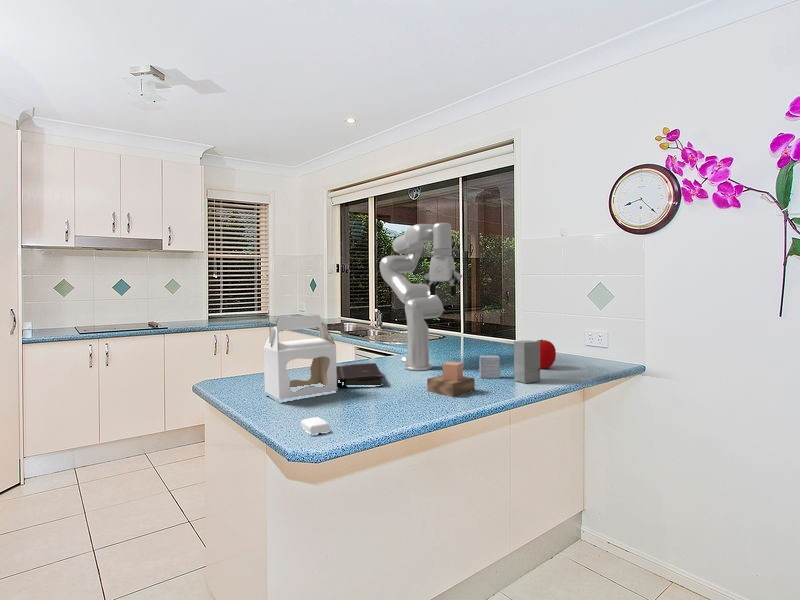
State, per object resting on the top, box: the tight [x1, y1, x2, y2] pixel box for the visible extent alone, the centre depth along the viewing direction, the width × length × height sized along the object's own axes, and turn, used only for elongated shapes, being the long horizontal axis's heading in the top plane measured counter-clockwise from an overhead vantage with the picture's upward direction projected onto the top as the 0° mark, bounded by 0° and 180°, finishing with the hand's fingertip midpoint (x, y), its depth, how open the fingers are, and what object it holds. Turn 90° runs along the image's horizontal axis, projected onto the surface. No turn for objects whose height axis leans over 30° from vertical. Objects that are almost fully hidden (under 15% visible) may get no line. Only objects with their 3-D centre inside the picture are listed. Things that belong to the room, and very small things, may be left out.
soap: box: [300, 416, 332, 434], centre depth 132 cm, size 9×7×3 cm
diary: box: [336, 362, 384, 387], centre depth 192 cm, size 19×25×5 cm
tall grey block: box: [513, 340, 541, 384], centre depth 187 cm, size 8×7×16 cm
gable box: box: [263, 314, 338, 399], centre depth 171 cm, size 22×13×28 cm, turn 126°
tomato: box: [536, 338, 557, 369], centre depth 212 cm, size 11×11×13 cm
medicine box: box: [479, 355, 501, 379], centre depth 195 cm, size 8×4×9 cm, turn 84°
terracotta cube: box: [442, 361, 464, 381], centre depth 173 cm, size 6×6×6 cm
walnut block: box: [426, 374, 476, 398], centre depth 173 cm, size 12×12×5 cm
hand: (442, 295), depth 197 cm, fingers open, 9 cm apart
